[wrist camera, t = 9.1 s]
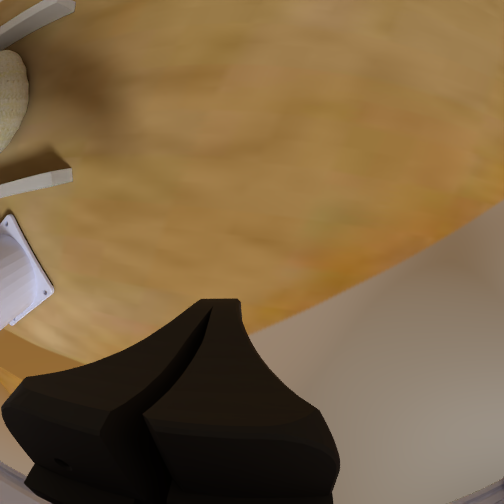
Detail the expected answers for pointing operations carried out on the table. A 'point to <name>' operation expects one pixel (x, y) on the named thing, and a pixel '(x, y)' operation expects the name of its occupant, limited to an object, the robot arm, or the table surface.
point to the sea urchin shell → (12, 95)
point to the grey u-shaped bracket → (37, 16)
